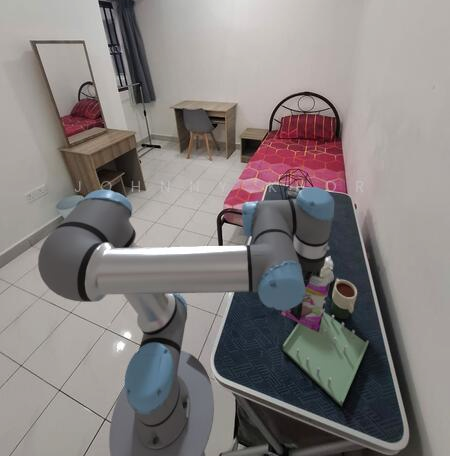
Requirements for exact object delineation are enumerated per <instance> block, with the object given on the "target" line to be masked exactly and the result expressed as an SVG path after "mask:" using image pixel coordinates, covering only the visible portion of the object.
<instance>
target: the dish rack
mask: <svg viewBox="0 0 450 456" xmlns="http://www.w3.org/2000/svg"><path fill="white" fill-rule="evenodd" d="M325 310H326V309H325V308H324V312H323V317H322V321H321V326H320V330H319V332H316V331H314V330H312V329H310V328H308V327H306V326H304V325H302V324H300V323H298V322H297V324H296V325H295V327H294V328H293V329H292V331H291V333H290V334H289V335H288V337H287V338H286V339H285V341H284V342H283V344H282V350H283V352H284V353H285V354H286V355H287V356H288V357H289V358H290V359H292V360H293V362H295V364H297V365H298V366H299V367H300V368H301V369H302V370H303V371H304V372H305V373H306V374H307V375H308V376H309V377H310V378H311V379H312V380H313V381H314V382H315V383H317V385H319V386H320V387H321V389H322V390H324V391H325V392H326V393H327V394H328V395H329V396H330V397H331V398H332V399H333V400H334V401H335V402H336V403H337V404H338V405H339V406H341V407H343V404H344V402H345V399H346V397H347V395H348V392H349V390H350V387H351V385H352V383H353V382H354V381H353V380H354V379H355V376H356V374H357V371H358V370H359V366H360V364H361V362H362V360H363V358H364V355H365V353H366V350H367V348H368V345H369V342H370V341H369V340H366V341H364V340H363V339H361V338H360V336H357V334H355V333H356V331H355V330H354V329H352V330H350V329H348V328H347V327H345V323H344V322H343V321H342V322H341V323H340V322H339V321H338V320H336V319H335V315H334V314H332V315H331V316H330V315H329V314H328V313H327V312H326V311H325Z"/></svg>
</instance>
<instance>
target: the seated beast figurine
mask: <svg viewBox="0 0 450 456" xmlns="http://www.w3.org/2000/svg"><path fill="white" fill-rule="evenodd" d="M333 268H334V262H333V260H332V257H331V255H329V256H326V259H325V264H324V266H323V268H322V269H321V273H320V277H321V278H324V279H327V280H329V281H330V284H331V283H332V282H333V281H335V275H334V272H333V271H334V269H333Z"/></svg>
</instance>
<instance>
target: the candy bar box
mask: <svg viewBox="0 0 450 456" xmlns="http://www.w3.org/2000/svg"><path fill="white" fill-rule="evenodd" d="M330 284H331V283H330V281H329V280H327V279H324V278H321V277H319V276H316V275H315V276H313V275H312V277H311V278H310V282H309V284H308V285H307V286H306V288H305V289H306V293H305V296H304V299H303V300H302V302H301V303H302V304H303V305H302V313H301V319H300V320H298V319H296V318H295V317H294V316H293V315H291V314H290V313H291V308H290V309H287V310H279V315H280V316H283V317H285V318H286V319H289V320H291V321H294V322H296V323H297V324H298V323H300V324H302V325H304V326H306V327H308V328H310V329H312V330H314V331H316V332H319V330H320V326H321V321H322V317H323V312H325V311H324V309H325V307H326V302H327V298H328V294H329V289H330Z"/></svg>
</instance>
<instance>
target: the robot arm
mask: <svg viewBox="0 0 450 456" xmlns="http://www.w3.org/2000/svg"><path fill="white" fill-rule="evenodd" d="M334 212H335V199H334V197H333V195H332V194H331V193H329V192H328V191H327V190H325V189H322V188H320V187H315V186H308V187H305V188H302V189H300V190H299V191H298V193H297V196H296V198H291V199H275V200H274V199H272V200H271V199H270V200H269V199H268V200H267V199H266V200H261V199H259V200H254V201H253V200H252V201H246V202H243V204H242V206H241V217H242V232H243V235H244V237H245V236H246V237H251V238H252V242H253V244H246V245H245V244H243V245H238V244H237V245H201V246H200V245H197V246H153V247H151V246H150V247H147V246H146V247H144V246H143V247H138V246H137V245H136V243H135V240H136V237H137V232H136V230H135V228H134V226H133V224H132V223H131V221H130V218H131V217H132V214H133V206H132V203H131V202H130V201H129V198H127V197H125V196H124V195H122V194H121V193H120V192H115V191H113V190H111V189H97V190H94V191H92V192H89V193H88V194H86V196H85V197H84V198H82V199H81V200H79V201H78V202H77V203H76V205H75V207H74V208H73V209H72V210H71V211H70V212H69V213H68V215H66V217H65V218H63V220H62V221H61V222H60V223H59V224H58V225H57V227H55V228H54V230H53V231H51V233H50V234H48V236H47V237H46V238H45V239H44V242H43V243H42V245H41V247H40V250H39V253H38V256H37V257H38V259H37V268H38V272H39V275H40V278H41V280H42V281H43V283H44V284H45V285H46V286H47V288H48V289H49V290H50V291H52V293H54V294H56V295H57V296H60V297H62V298H63V299H66V300H70V301H73V302H79V303H80V302H81V303H85V302H86V303H88V302H89V303H91V302H94V303H95V302H100V301H102V300H103V299H104V298H105V297H106V296H107V295H123V296H124V297H125V299H126V301H127V302H128V303H129V305H130V306H131V307H132V309H133V310H134V311H135V313H136V314H137V317H136V323H137V327H138V328H139V329H140V330H141V332H142V338H141V341H140V345H139V348H138V350H137V351H136V352H134V353H133V355H132V356H131V358H130V360H129V362H128V364H127V367H126V370H125V374H124V385H125V391H126V396H127V399H128V402H129V404H130V405H131V407H132V408H133V409H134V411H135V418H134V419H135V429H136V432H137V435H138V437H139V439H140V441H141V442H142V443H143V444H144V445H145V446H146V447H147V448H149V449H152V450H160V449H164V448H166V447H168V446H170V445H171V444H172V443H173V442H174V441H175V440H176V439H177V438H178V437H179V436H180V434H181V433H182V431H183V429H184V427H185V425H186V423H187V420H188V416H189V411H190V396H189V392H188V388H187V386H186V384H185V382H184V381H183V379H182V378H181V377H180V376H178V375H177V372H178V365H179V359H180V353H181V351H182V347H183V341H184V335H185V334H184V333H185V328H186V323H187V319H188V304H187V301H186V299H185V298H184V297H183V296H182V295H181V294H210V293H211V294H212V293H213V294H214V293H215V294H216V293H219V294H220V293H223V294H224V293H257V294H258V297H259V300H260V302H261V303H262V304H263V305H264V306H265V307H266V308H270V309H271V308H273V309H274V310H277V311H280V310H287V309H290V308H291V313H290V314H291V315H293V316H294V317H295V318H296V319H298V320H300V319H301V313H302V305H303V304H302V303H301V302H302V300H303V299H304V296H305V293H306V289H305V288H306V286H307V285H308V284H309V282H310V278H311V277H312V275H313V276H315V275H316V276H319V277H320V273H321V269H322V268H323V266H324V264H325V259H326V257H327V251H329V250H330V246H329V245H328V244H329V240H330V234H331V230H332V229H331V228H332V224H333V220H334V218H335V217H334V216H335V213H334ZM292 236H293V237H292Z"/></svg>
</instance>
